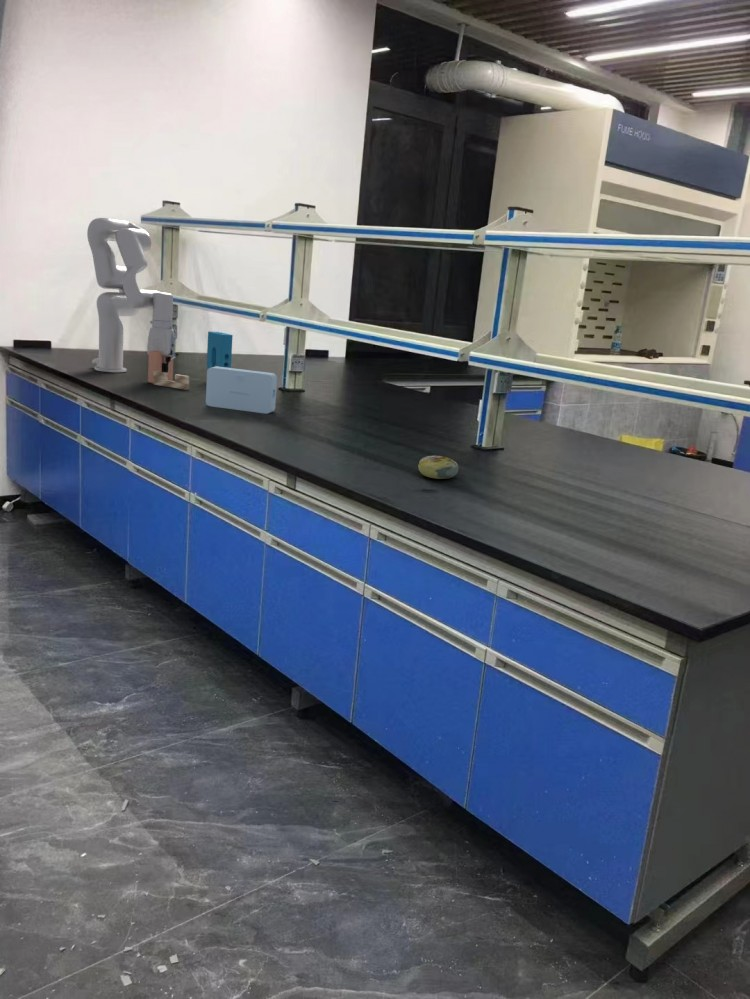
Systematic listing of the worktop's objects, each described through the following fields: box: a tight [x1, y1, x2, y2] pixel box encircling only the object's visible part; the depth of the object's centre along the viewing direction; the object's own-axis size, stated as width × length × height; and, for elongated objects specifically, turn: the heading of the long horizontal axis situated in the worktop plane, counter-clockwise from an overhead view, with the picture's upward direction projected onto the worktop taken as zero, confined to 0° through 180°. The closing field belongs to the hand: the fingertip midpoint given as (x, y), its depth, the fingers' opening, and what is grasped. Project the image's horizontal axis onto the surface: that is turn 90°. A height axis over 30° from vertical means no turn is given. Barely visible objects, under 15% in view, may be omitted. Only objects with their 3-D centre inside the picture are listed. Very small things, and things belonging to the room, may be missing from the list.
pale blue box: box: [205, 366, 278, 415], centre depth 290 cm, size 23×6×13 cm, turn 79°
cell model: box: [417, 455, 459, 480], centre depth 222 cm, size 10×8×14 cm
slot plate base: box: [152, 371, 190, 391], centre depth 324 cm, size 15×2×5 cm, turn 68°
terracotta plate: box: [147, 351, 174, 384], centre depth 334 cm, size 3×12×12 cm, turn 158°
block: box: [206, 330, 233, 371], centre depth 344 cm, size 12×5×20 cm, turn 41°
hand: (160, 371), depth 335 cm, fingers closed on terracotta plate, 3 cm apart
